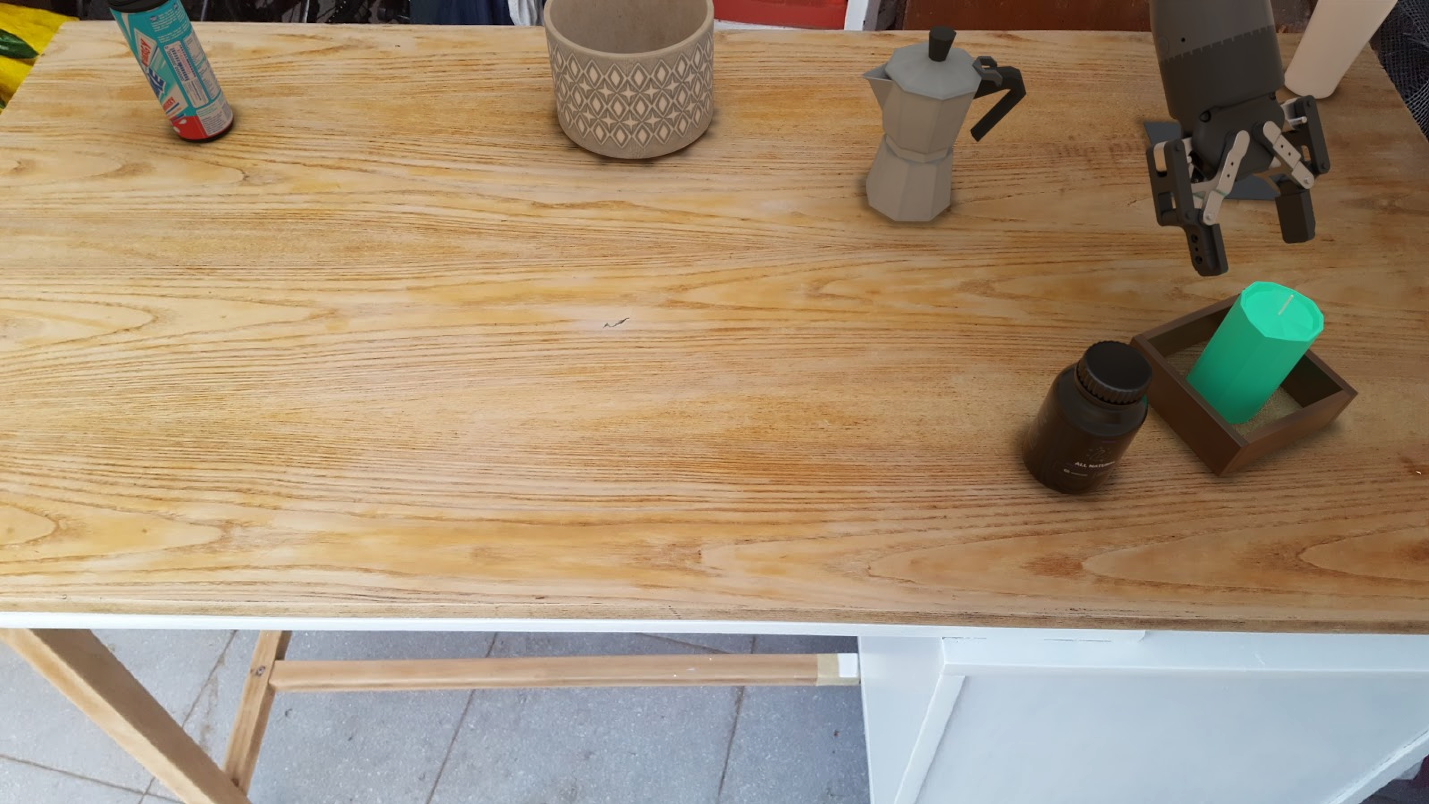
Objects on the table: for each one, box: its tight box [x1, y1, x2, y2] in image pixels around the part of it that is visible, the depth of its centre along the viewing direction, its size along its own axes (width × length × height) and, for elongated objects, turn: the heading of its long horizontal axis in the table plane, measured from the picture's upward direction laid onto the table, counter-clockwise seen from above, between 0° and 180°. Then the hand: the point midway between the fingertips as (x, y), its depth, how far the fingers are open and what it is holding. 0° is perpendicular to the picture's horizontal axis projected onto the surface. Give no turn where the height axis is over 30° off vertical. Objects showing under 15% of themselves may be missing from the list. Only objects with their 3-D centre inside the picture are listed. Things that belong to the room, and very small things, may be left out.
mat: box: [1143, 121, 1281, 202], centre depth 97 cm, size 12×12×1 cm
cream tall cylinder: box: [1284, 0, 1399, 100], centre depth 100 cm, size 7×7×15 cm
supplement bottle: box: [1021, 339, 1153, 496], centre depth 70 cm, size 7×7×12 cm
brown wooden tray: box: [1128, 292, 1359, 478], centre depth 77 cm, size 12×12×5 cm
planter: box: [542, 0, 715, 160], centre depth 96 cm, size 16×16×13 cm
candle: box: [1185, 280, 1325, 425], centre depth 74 cm, size 6×6×12 cm
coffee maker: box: [860, 24, 1027, 222], centre depth 87 cm, size 15×9×18 cm, turn 91°
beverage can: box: [105, 0, 234, 143], centre depth 94 cm, size 6×6×15 cm
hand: (1257, 258), depth 71 cm, fingers open, 8 cm apart
